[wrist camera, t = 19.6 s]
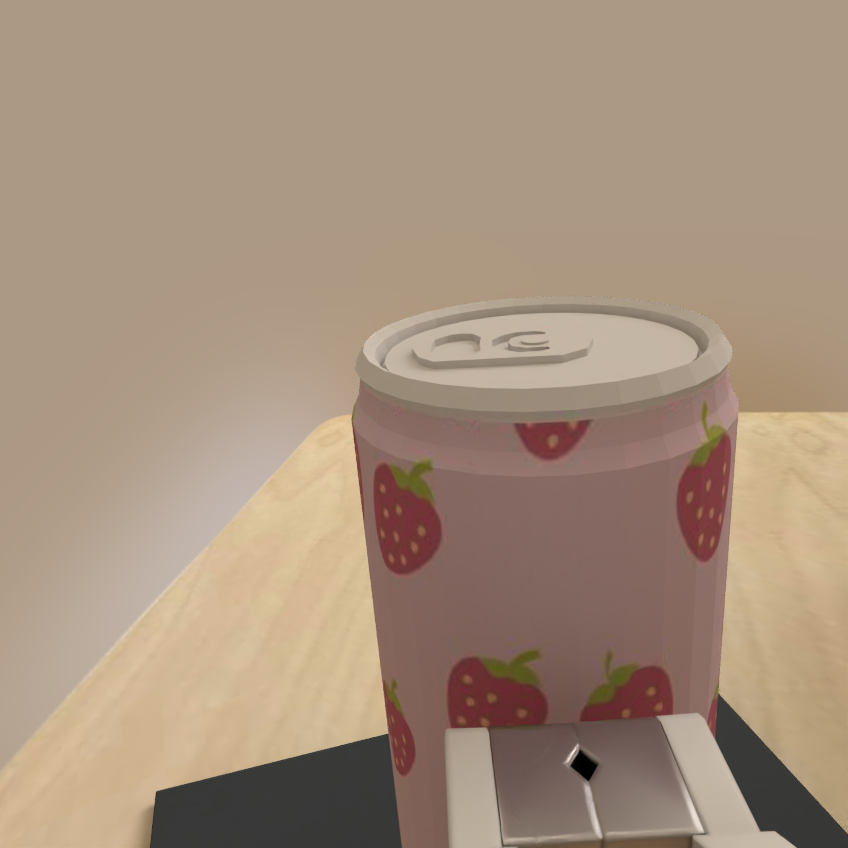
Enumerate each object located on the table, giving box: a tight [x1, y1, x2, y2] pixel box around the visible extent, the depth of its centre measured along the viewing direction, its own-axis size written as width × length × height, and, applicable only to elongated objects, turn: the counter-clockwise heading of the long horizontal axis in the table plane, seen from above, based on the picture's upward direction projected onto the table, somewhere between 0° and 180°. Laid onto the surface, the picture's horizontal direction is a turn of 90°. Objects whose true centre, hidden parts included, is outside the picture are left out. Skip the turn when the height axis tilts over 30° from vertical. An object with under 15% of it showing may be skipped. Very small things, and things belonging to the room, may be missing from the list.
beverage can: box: [352, 296, 739, 848], centre depth 14 cm, size 6×6×15 cm
